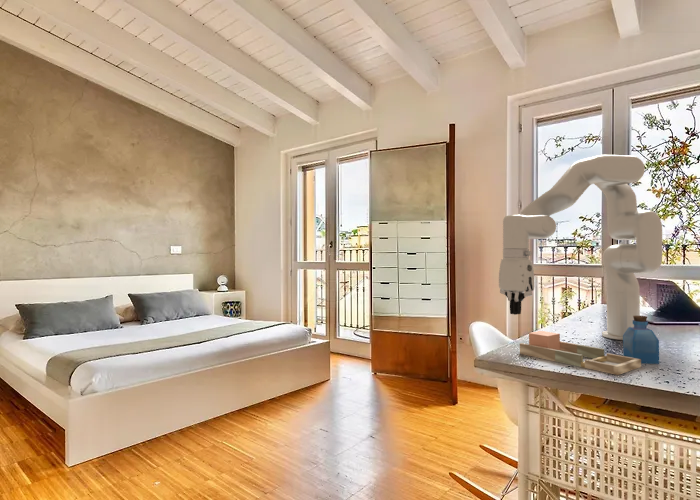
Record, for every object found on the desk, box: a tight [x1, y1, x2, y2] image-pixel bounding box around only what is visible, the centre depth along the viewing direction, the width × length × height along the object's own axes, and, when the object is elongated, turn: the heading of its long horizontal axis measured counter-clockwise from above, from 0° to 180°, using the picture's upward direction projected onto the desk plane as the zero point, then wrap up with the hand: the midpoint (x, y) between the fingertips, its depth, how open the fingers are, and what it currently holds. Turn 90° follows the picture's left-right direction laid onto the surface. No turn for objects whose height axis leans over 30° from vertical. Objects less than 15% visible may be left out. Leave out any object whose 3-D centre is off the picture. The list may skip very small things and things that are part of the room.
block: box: [528, 330, 561, 350], centre depth 127 cm, size 6×6×6 cm
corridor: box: [519, 340, 642, 376], centre depth 119 cm, size 12×27×3 cm, turn 33°
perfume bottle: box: [622, 315, 660, 365], centre depth 117 cm, size 6×6×12 cm
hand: (515, 313), depth 134 cm, fingers closed
